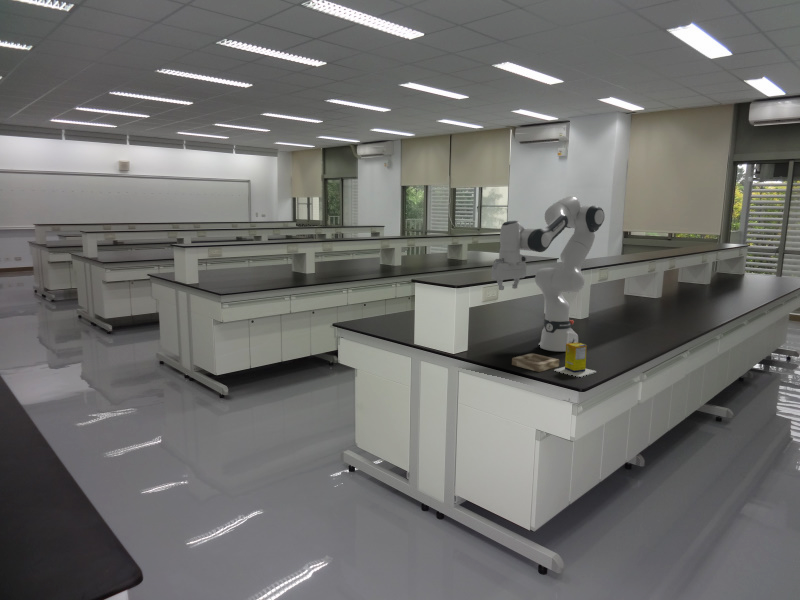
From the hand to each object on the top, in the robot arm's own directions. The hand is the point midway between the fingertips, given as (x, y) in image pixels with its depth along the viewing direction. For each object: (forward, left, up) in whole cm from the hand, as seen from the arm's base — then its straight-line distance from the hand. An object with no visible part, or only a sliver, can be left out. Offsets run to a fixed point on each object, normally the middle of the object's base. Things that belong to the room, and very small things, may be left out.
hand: (508, 289), depth 237 cm
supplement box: (-4, +33, -31) cm, 45 cm away
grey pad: (-4, +33, -31) cm, 45 cm away
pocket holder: (+1, +17, -31) cm, 35 cm away
